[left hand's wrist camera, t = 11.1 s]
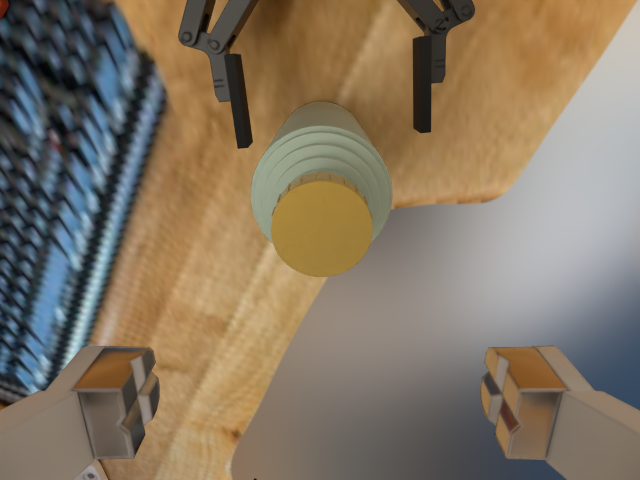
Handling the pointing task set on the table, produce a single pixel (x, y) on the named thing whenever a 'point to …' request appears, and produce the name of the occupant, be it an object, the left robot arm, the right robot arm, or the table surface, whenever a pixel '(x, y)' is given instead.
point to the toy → (3, 7)
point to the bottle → (321, 161)
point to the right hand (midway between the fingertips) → (333, 138)
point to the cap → (321, 224)
